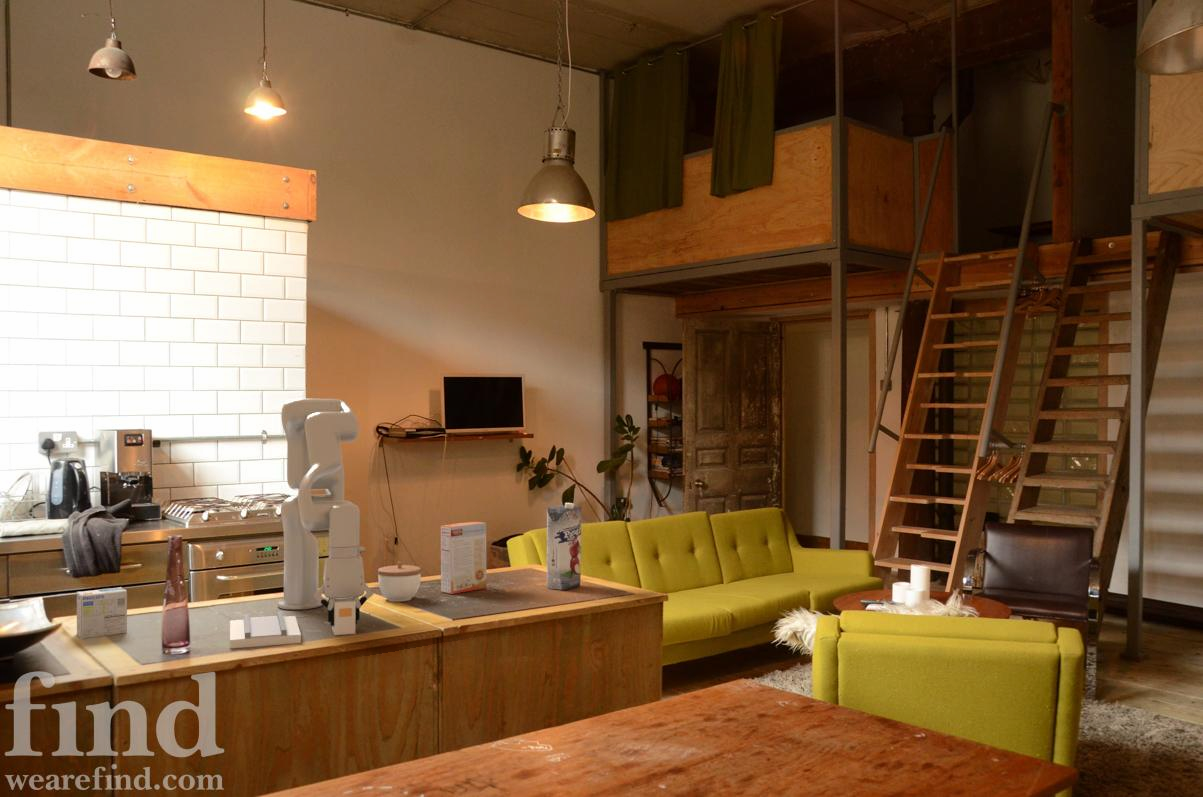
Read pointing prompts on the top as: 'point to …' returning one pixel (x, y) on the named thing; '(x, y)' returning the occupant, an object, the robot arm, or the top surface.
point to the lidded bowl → (399, 581)
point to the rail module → (344, 616)
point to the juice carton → (563, 547)
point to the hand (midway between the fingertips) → (343, 623)
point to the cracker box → (463, 557)
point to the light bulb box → (101, 612)
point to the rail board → (264, 631)
